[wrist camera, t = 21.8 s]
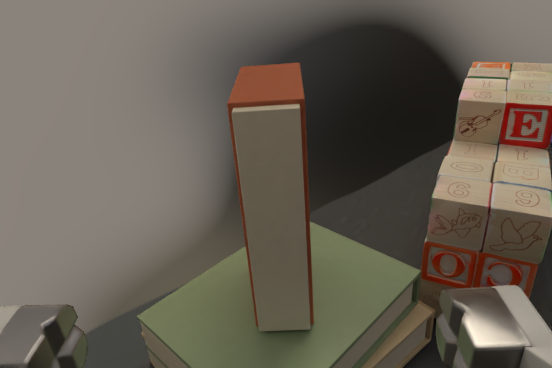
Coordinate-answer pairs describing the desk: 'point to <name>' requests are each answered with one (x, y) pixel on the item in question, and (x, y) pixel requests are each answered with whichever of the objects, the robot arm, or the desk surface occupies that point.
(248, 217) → the pocket book
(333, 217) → the desk surface
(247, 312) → the book stack
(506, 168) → the stack of blocks
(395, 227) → the desk surface
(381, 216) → the desk surface
